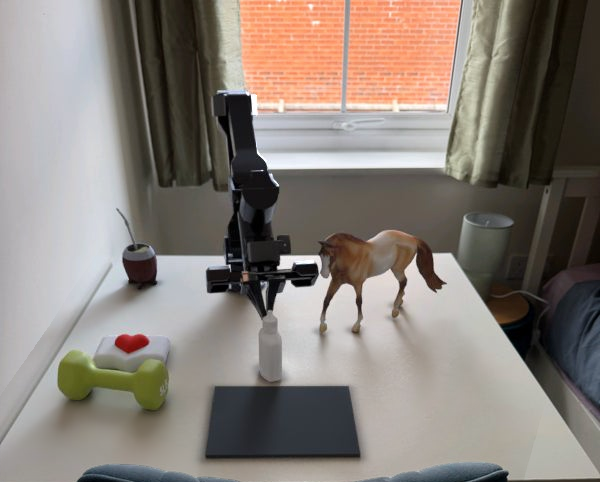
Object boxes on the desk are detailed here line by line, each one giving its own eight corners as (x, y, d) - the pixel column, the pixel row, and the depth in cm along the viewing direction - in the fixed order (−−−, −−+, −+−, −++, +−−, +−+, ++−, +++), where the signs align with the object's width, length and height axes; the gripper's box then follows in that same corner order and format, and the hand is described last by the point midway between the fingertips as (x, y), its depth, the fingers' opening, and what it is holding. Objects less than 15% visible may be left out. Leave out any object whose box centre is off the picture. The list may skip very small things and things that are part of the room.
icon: (85, 355, 98) (99, 325, 106) (90, 377, 100) (104, 346, 108) (161, 355, 98) (169, 325, 106) (164, 377, 101) (172, 346, 109)
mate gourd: (155, 290, 127) (146, 221, 118) (118, 289, 127) (106, 220, 118) (162, 275, 133) (154, 208, 124) (127, 274, 133) (116, 207, 124)
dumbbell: (175, 391, 98) (170, 353, 93) (156, 420, 91) (150, 381, 87) (81, 378, 100) (73, 341, 96) (57, 406, 93) (46, 367, 89)
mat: (215, 389, 98) (214, 386, 98) (348, 388, 99) (348, 385, 99) (205, 458, 84) (205, 455, 84) (360, 457, 85) (360, 454, 85)
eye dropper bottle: (285, 366, 104) (286, 304, 97) (280, 384, 100) (280, 320, 93) (260, 363, 105) (259, 302, 98) (254, 381, 100) (253, 318, 93)
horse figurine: (319, 350, 109) (324, 241, 97) (296, 332, 114) (298, 226, 102) (443, 309, 123) (461, 209, 111) (417, 295, 128) (432, 198, 116)
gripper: (201, 218, 93) (212, 315, 90) (318, 213, 96) (331, 306, 94) (202, 248, 104) (211, 335, 101) (307, 242, 107) (318, 326, 105)
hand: (267, 325), depth 100 cm, fingers closed
